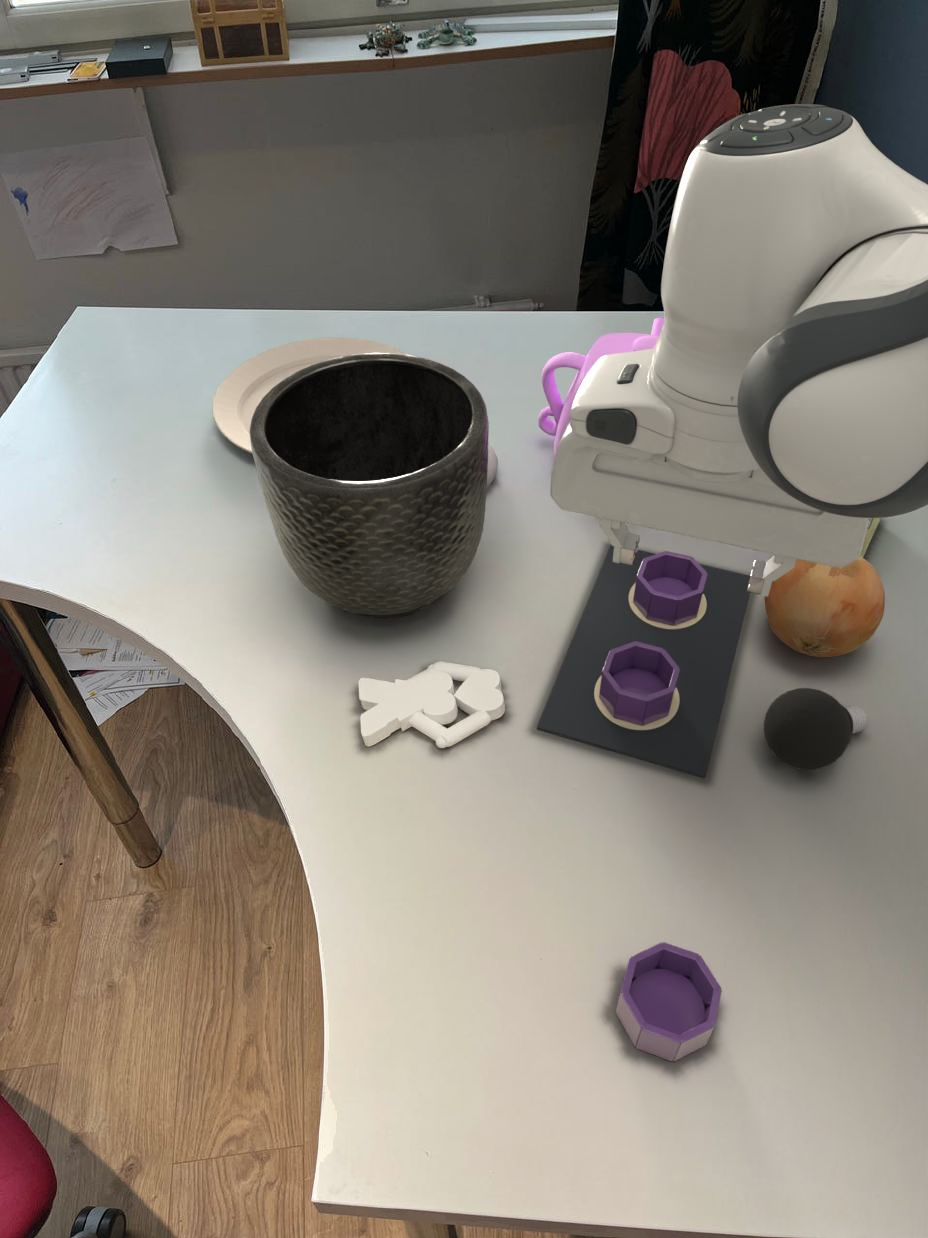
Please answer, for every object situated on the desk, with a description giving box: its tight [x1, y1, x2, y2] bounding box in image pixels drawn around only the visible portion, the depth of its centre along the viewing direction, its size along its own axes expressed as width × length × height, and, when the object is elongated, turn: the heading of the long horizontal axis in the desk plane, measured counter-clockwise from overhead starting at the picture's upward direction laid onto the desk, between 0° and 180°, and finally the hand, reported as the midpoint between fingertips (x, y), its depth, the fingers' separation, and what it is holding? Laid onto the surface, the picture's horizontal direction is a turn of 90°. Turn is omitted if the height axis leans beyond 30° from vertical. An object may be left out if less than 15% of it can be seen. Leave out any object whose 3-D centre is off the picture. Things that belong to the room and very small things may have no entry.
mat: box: [536, 543, 751, 778], centre depth 83 cm, size 14×24×1 cm, turn 159°
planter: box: [250, 353, 490, 620], centre depth 83 cm, size 20×20×19 cm
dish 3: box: [615, 941, 723, 1062], centre depth 60 cm, size 6×6×3 cm
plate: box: [212, 336, 408, 454], centre depth 109 cm, size 26×26×2 cm
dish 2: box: [599, 641, 680, 726], centre depth 78 cm, size 6×6×3 cm
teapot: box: [537, 317, 664, 458], centre depth 97 cm, size 19×21×14 cm
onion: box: [763, 556, 886, 658], centre depth 80 cm, size 10×10×10 cm
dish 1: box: [633, 550, 708, 626], centre depth 85 cm, size 6×6×3 cm
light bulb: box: [763, 687, 868, 771], centre depth 74 cm, size 6×6×10 cm
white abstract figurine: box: [357, 660, 506, 749], centre depth 78 cm, size 9×12×2 cm
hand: (690, 573), depth 65 cm, fingers open, 8 cm apart
